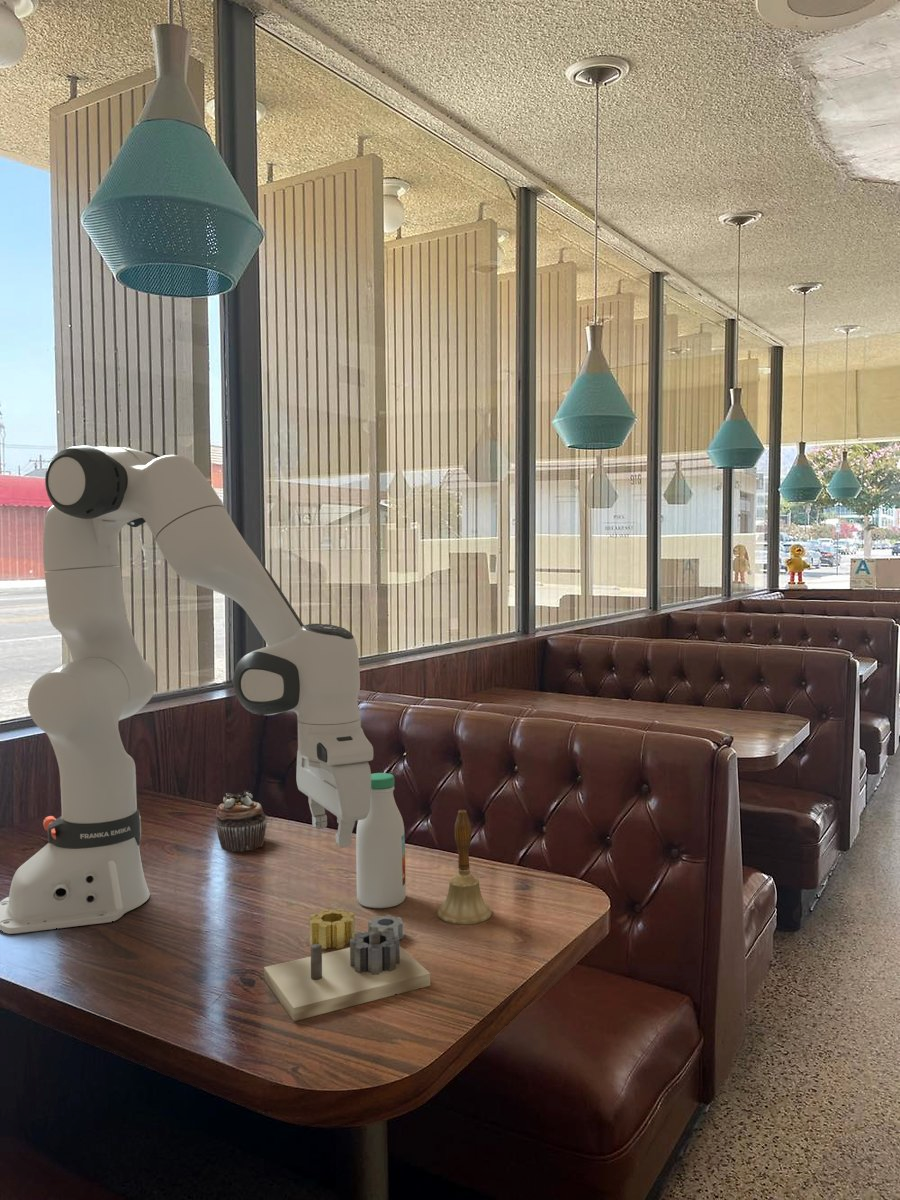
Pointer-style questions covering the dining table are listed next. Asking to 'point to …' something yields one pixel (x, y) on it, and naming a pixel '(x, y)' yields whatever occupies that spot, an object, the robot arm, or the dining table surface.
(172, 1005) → the dining table surface
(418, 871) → the dining table surface
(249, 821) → the cupcake
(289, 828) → the dining table surface
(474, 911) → the hand bell
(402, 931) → the zinc gear
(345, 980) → the gear board
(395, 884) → the milk bottle
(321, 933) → the brass gear
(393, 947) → the steel gear
